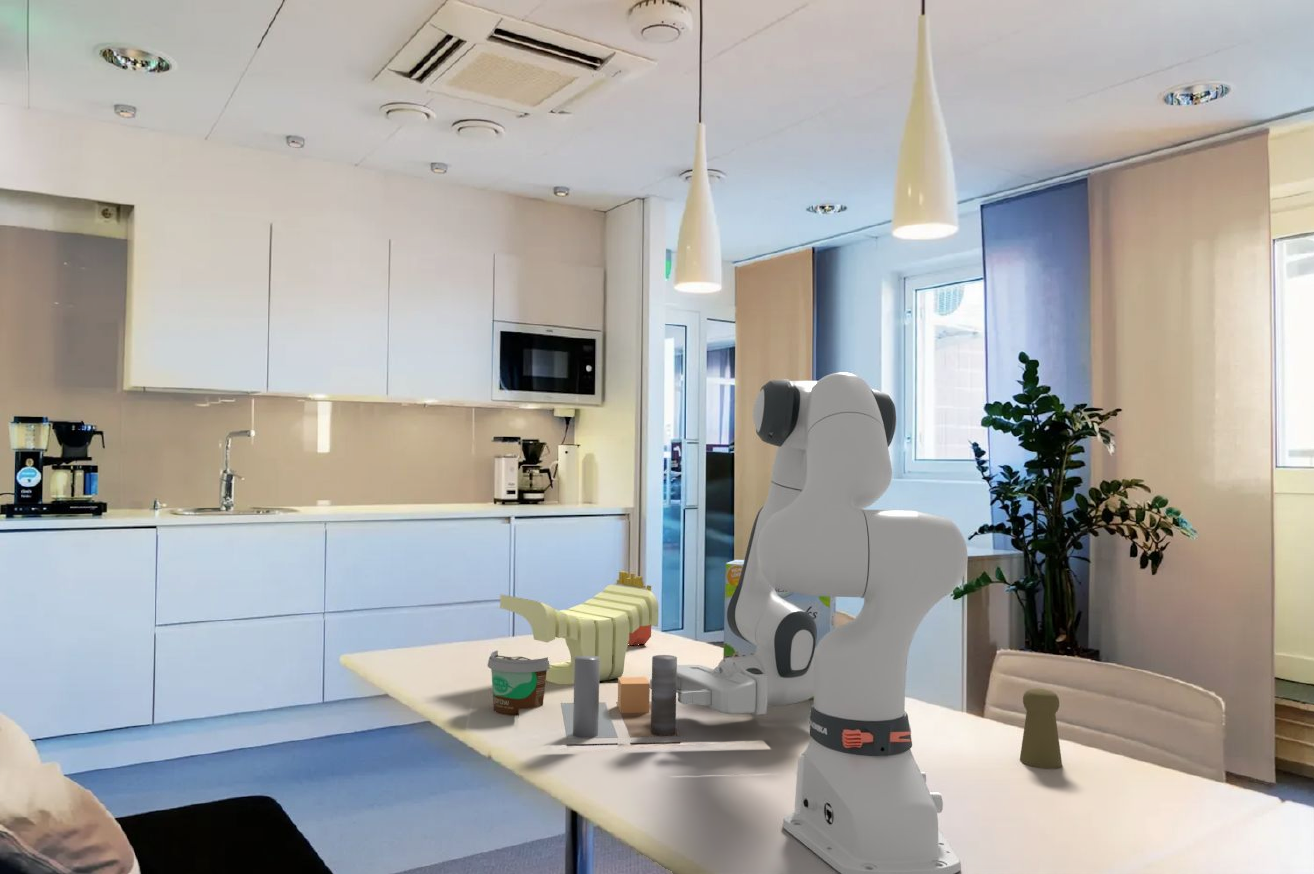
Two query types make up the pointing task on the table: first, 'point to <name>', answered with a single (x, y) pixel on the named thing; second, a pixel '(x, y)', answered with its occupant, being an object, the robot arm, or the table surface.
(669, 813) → the table surface
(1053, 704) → the olive green pawn
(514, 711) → the food container
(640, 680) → the terracotta block
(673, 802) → the table surface
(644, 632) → the french fries container
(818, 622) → the snack box
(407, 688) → the table surface
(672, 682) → the grey post on board
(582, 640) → the slatted curved stool
